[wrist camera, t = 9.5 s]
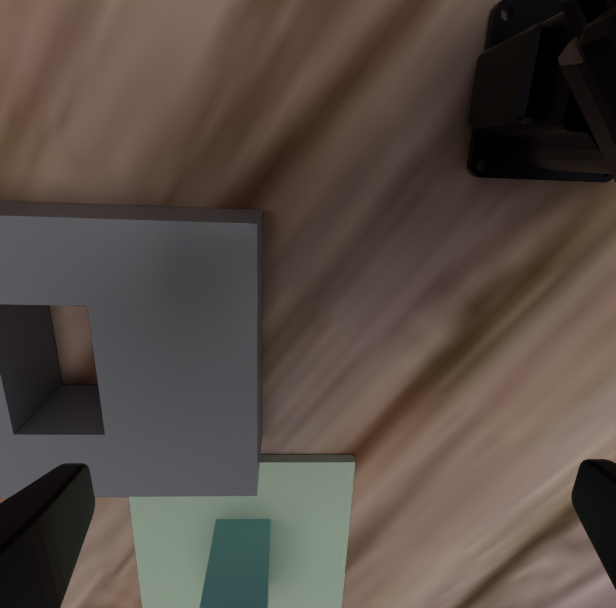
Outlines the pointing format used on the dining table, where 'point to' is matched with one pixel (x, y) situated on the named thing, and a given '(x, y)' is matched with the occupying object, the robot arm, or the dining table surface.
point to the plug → (238, 565)
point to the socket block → (134, 347)
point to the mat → (266, 505)
